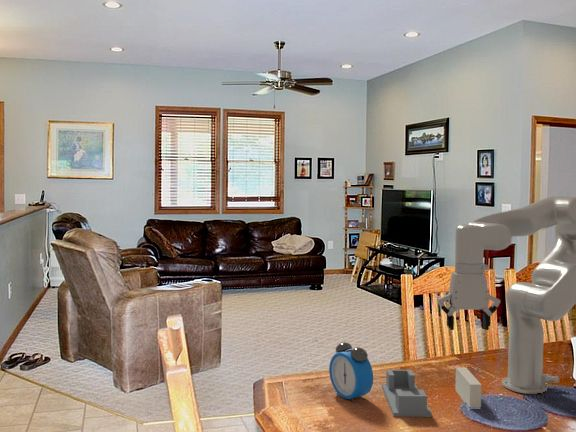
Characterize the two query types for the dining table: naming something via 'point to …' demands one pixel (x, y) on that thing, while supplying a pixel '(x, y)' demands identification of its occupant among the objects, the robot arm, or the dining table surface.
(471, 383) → the light grey rectangular block
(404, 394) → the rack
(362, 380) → the alarm clock
